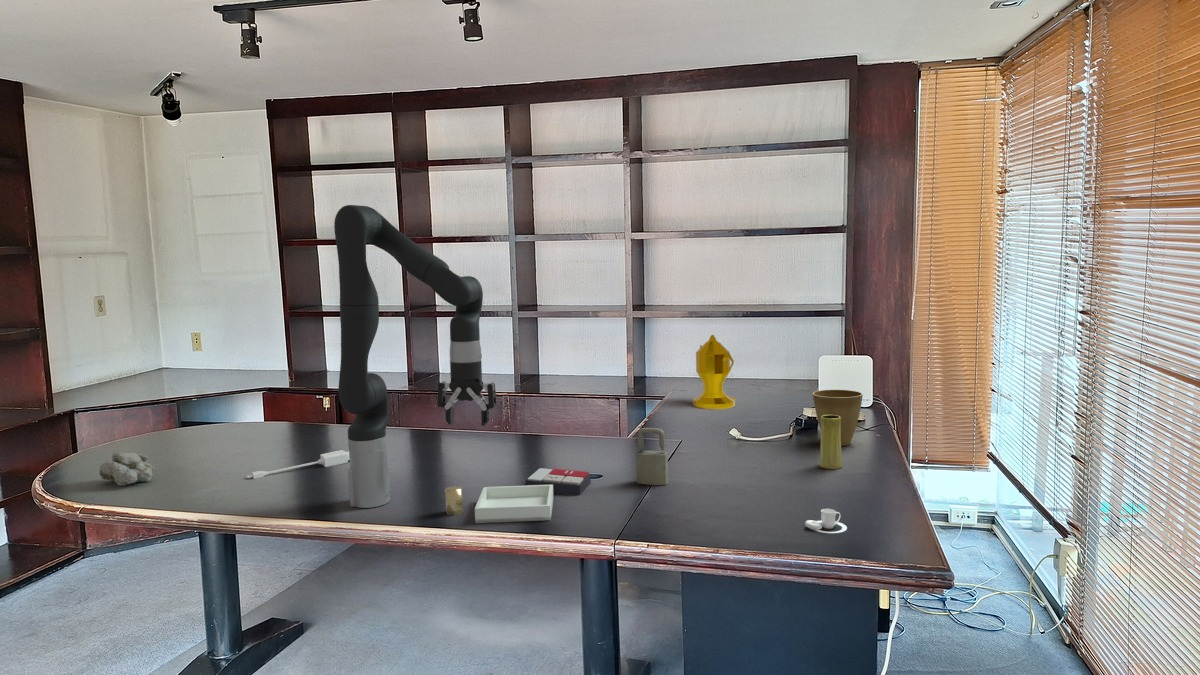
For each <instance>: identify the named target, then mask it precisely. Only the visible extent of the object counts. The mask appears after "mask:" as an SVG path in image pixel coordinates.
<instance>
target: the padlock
mask: <svg viewBox="0 0 1200 675" xmlns="http://www.w3.org/2000/svg"><path fill="white" fill-rule="evenodd" d="M644 434H655V435H657V434H658V436H659V437H658V438H659V439H658V440H659V447H660V449H661V451H660V450H644ZM665 442H666V436H665V431H664V430H663V429H661V428H658V427H643V428H639V430H638V431H637V451H636V452H635V466H636V467H635V470H636V472H635V473H636V484H640V485H641V484H642V485H649V486H650V485H651V486H663V485H664V486H667V484H668V483H669V454H668V451H667V452H666V451H664V449H665V445H666V443H665Z"/></svg>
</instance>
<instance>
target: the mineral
mask: <svg viewBox="0 0 1200 675" xmlns="http://www.w3.org/2000/svg"><path fill="white" fill-rule="evenodd" d="M111 458H112V460H111V461H110V460H108V461H104V463H101V464H100V465H99V466H100V467H99V470H98V472H99V476H100V478H101V479H102V480H109V481H113V482H115V483H116V484H117V486H120V487H125V486H127V485H131V484H135V483H148V482H150V481H152V478H153V470H155V469H156V468H155V467H154V466H153V464H150V463H148V462H147V461H148V459H149V456H148V455H146V454H145V455H144V454H140V453H134V452H124V451H118V452H114V453H113V454H112V455H111Z"/></svg>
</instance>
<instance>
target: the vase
mask: <svg viewBox="0 0 1200 675" xmlns="http://www.w3.org/2000/svg"><path fill="white" fill-rule="evenodd" d="M819 451H820V452H819V453H820V454H819V467H820V468H823V469H826V470H838V469H841V468H842V467H843V460H842V446H841V417H840V416H838V415H823V416H821V429H820V450H819Z"/></svg>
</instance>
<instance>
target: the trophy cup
mask: <svg viewBox="0 0 1200 675" xmlns="http://www.w3.org/2000/svg"><path fill="white" fill-rule="evenodd" d="M734 363H735V360H734V359H733V357H732V356H731V353H730V351H729V350H728V349H727V348H726V347H725V346H724V345H723V344H722V343H721V342H719V341H717V338H716V337H715V335H714V334H710V336H709V338H708V340H707V341H706V342H705V343H704V344H702V345H699V349H697V351H696V352H695V370H696V373H697V375H698V377H699V379H700V380H701V382H702V384H703V386H702V387H703V391H702V392H701V394H700V395H698V396H696V397H694V398H693V399H692V401H691V402H692V406H694V407H695V408H700V409H703V410H726V409H730V408H733V407H735V405H736V397H735V396H734V397H733V396H729V395H727V393H726V392H725V391H724V383H725V381H726V379H727V377H728V375H729V374H730V373H731V370H732V367H733V366H734Z"/></svg>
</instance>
